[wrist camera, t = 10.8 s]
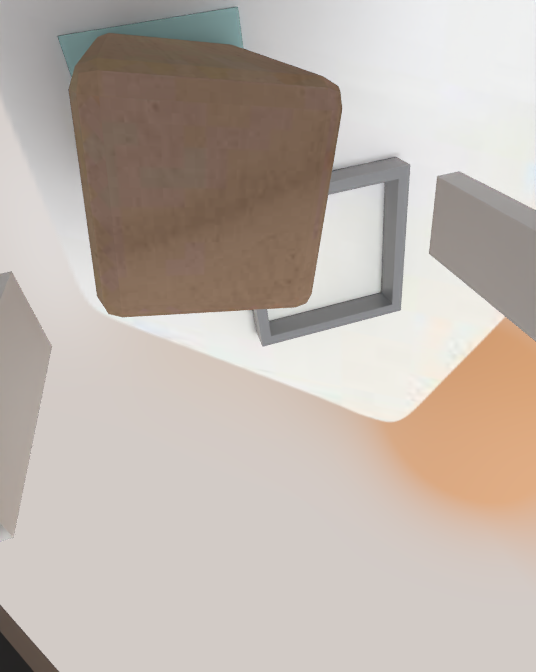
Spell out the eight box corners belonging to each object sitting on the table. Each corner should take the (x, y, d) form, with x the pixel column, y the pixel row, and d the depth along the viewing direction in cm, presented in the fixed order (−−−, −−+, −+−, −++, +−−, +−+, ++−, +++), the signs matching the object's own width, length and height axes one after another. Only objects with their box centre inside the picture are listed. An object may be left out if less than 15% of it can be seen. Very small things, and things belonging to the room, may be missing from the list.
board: (58, 35, 30) (57, 36, 29) (236, 7, 31) (237, 6, 31) (117, 210, 37) (117, 212, 37) (260, 180, 39) (261, 181, 38)
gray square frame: (232, 192, 39) (238, 202, 37) (396, 157, 40) (410, 164, 38) (256, 332, 48) (262, 346, 46) (389, 298, 50) (400, 310, 48)
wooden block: (235, 186, 38) (316, 314, 22) (108, 185, 35) (98, 328, 20) (242, 44, 32) (357, 81, 17) (92, 30, 30) (60, 57, 14)
